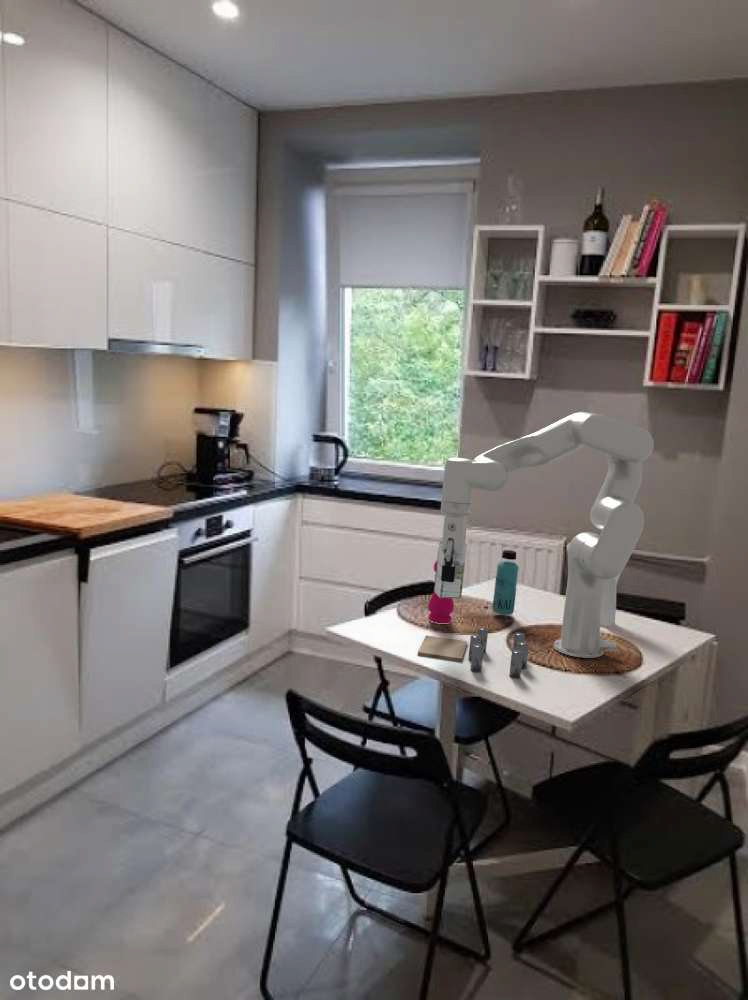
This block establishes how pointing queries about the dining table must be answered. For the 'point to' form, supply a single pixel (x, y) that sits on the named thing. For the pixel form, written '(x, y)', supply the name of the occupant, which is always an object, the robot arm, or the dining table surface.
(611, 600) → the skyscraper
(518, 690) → the dining table surface
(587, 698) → the dining table surface
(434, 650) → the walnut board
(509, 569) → the beverage bottle
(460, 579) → the syrup box
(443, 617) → the pepper mill
